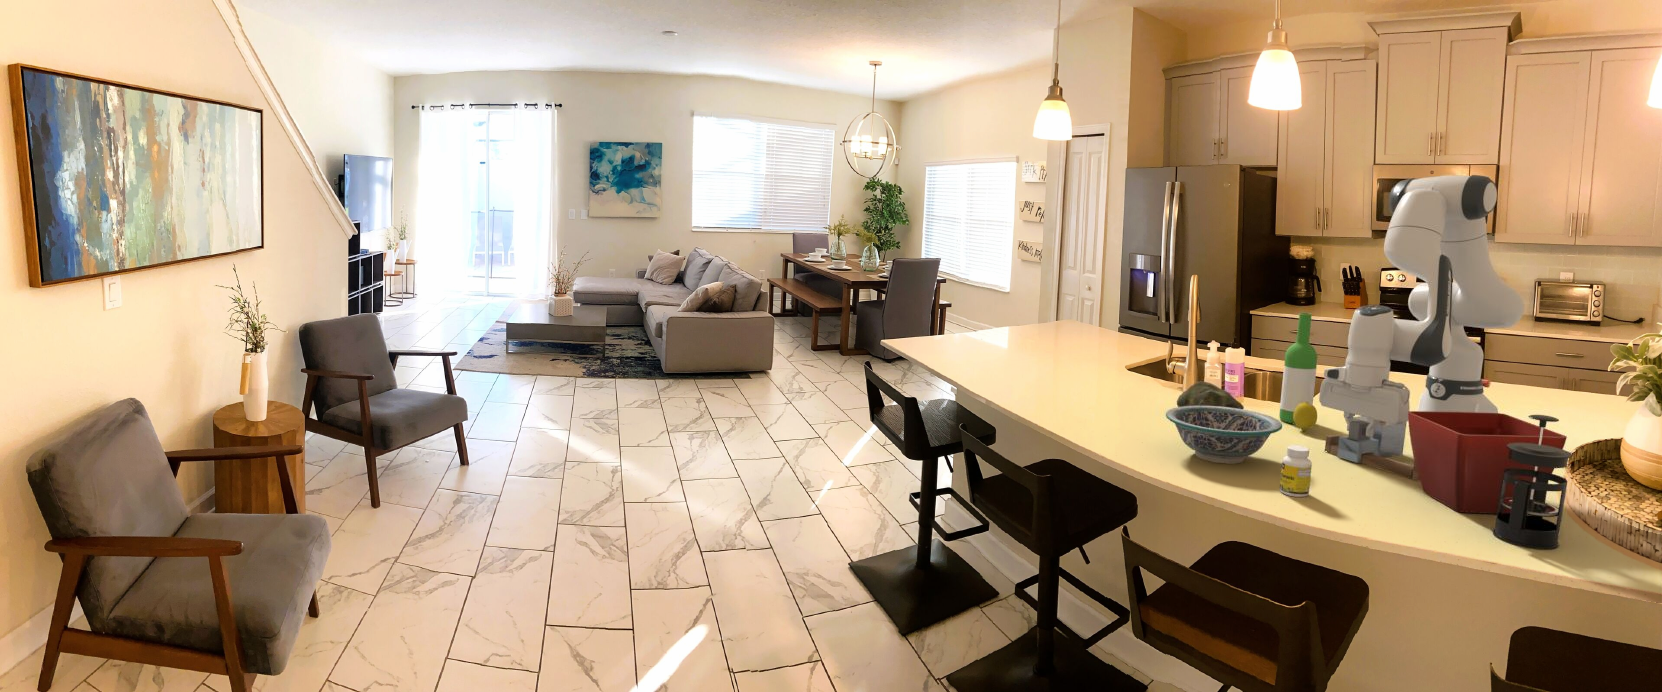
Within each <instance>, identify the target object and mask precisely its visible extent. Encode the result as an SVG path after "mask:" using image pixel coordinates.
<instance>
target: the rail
mask: <svg viewBox="0 0 1662 692" xmlns="http://www.w3.org/2000/svg"><path fill="white" fill-rule="evenodd" d="M1339 437H1341V435H1338V434H1330V435H1326V436H1325V443H1324V445H1325V446H1324V452H1325V451H1327V452H1330V453H1332V454H1331V455H1334V454H1335V455H1334V456H1337V455H1338V446H1339ZM1327 452H1326V453H1327ZM1330 453H1329V454H1330ZM1360 464H1363V465H1366V464H1367V466H1369V465H1370V467H1372V466H1373V467H1372V468H1376V469H1380V470H1381V471H1382V470H1383V471H1385V472H1388V471H1389V472H1388V473H1393V474H1395V475H1399V476H1401V477H1405V478H1408V479H1412V480H1414V481H1420V479H1419V476H1418V472H1417V469H1416V465H1415V461H1413V465H1412V464H1409V463H1405V462H1401V461H1398V460H1395V459H1391V458H1389V457H1382V456H1378V455H1375V454H1372V453H1365V454H1361V462H1360Z"/></svg>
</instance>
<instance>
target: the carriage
mask: <svg viewBox="0 0 1662 692" xmlns="http://www.w3.org/2000/svg"><path fill="white" fill-rule="evenodd" d="M1369 424H1370V422H1367V421H1364V420H1359V421H1351V422H1350V427H1349V431H1348V435H1346V436H1340V437H1339V446H1338V455H1336V456H1337V458H1339V459H1340V458H1341V459H1343V460H1346V461H1350V462H1353V463H1359V462H1361V454H1365V453H1372V454H1375V455H1377V450H1378V442H1379V440H1376V439H1373V438H1370V437H1368V436H1364V435H1362V432H1363V431H1362V429H1363V428H1367V426H1368V425H1369Z"/></svg>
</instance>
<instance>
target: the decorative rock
mask: <svg viewBox="0 0 1662 692" xmlns="http://www.w3.org/2000/svg"><path fill="white" fill-rule="evenodd" d="M1176 405H1177V407H1183V406H1219V407H1229V408H1237V409H1243V410H1245V407H1244V405H1243V404H1242V403H1241V402H1239V401H1238V400H1237V399H1236V398H1235V397H1234V396H1233V395H1232V394H1231V393H1230V392H1228V391H1227V390H1225V389H1222V388H1220V387H1218V386H1217V385H1215V384H1213V383H1211V382H1209V381H1208V382H1207V381H1196V382H1194V383H1193V384H1192V385H1190V386H1189V387H1188V388H1187V389H1186V390H1185V391H1183V392H1182V393H1181V394H1180V395H1179V396H1178V398H1177V400H1176Z"/></svg>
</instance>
